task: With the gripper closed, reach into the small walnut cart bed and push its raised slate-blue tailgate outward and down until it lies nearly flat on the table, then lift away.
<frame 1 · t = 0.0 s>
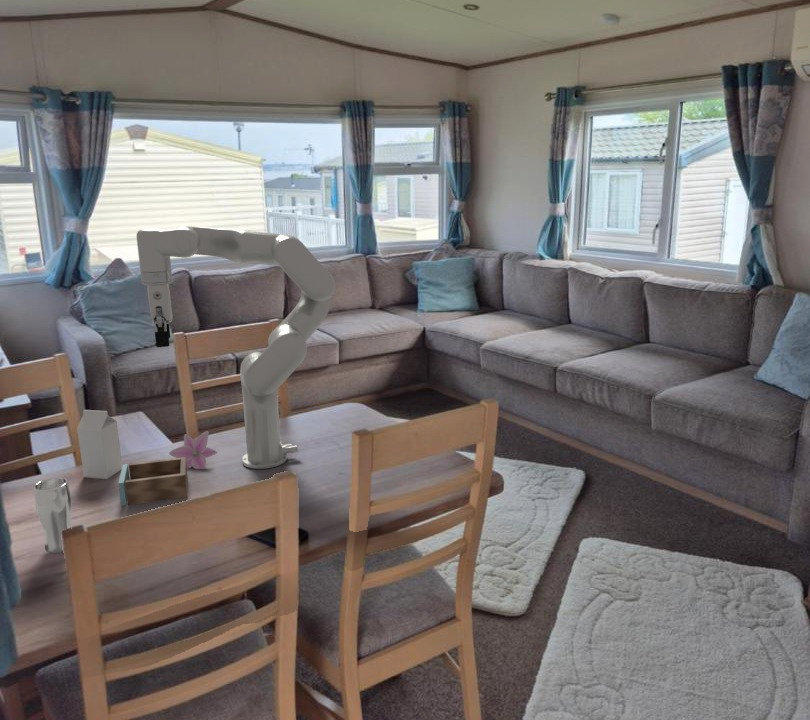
hand: (163, 342, 181), 37 cm above the table, tool pointing down, fingers open, 9 cm apart
cart bed: (159, 495, 177), on the table
milk carton: (104, 477, 188), on the table
lily: (195, 469, 193), on the table
tailgate: (124, 484, 173), point 4 cm above the table, hinge at 0.0°
beer glass: (60, 546, 153), on the table
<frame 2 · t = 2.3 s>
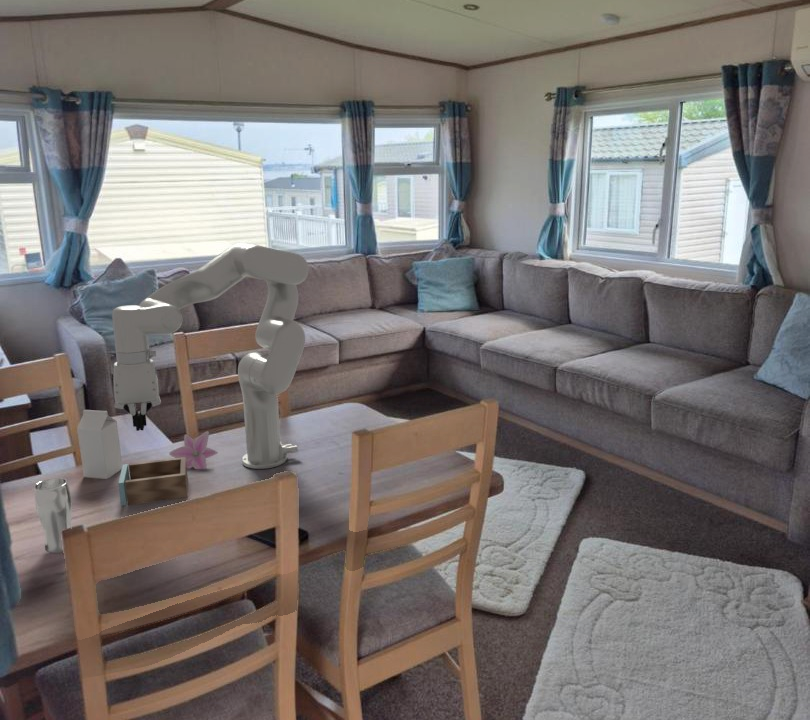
hand: (140, 428, 171), 18 cm above the table, tool pointing down, fingers closed
nothing on the table moved.
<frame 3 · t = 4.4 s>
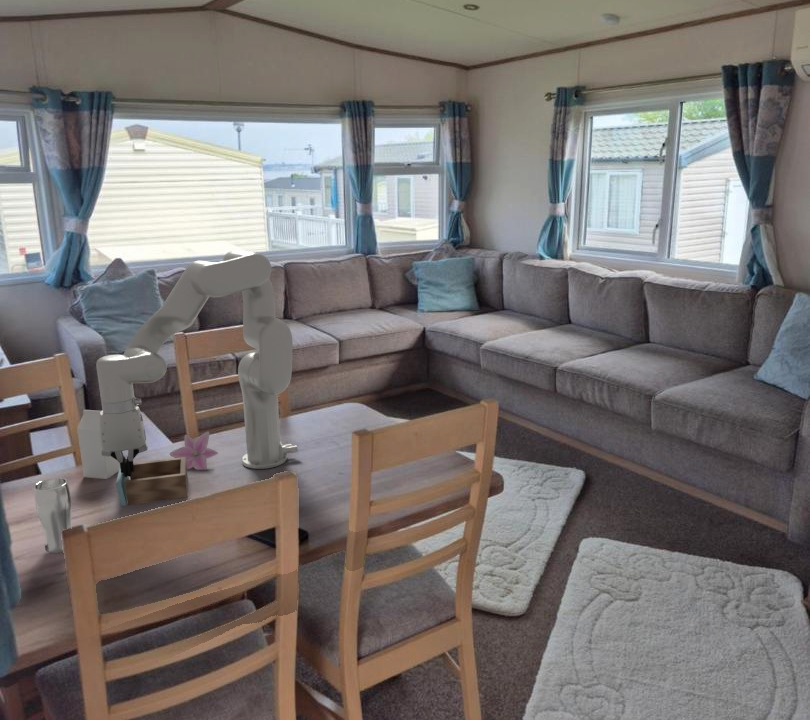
hand: (128, 474, 173), 7 cm above the table, tool pointing down, fingers closed
tailgate: (123, 484, 173), point 4 cm above the table, hinge at 6.2°, touching gripper
everything else where it was.
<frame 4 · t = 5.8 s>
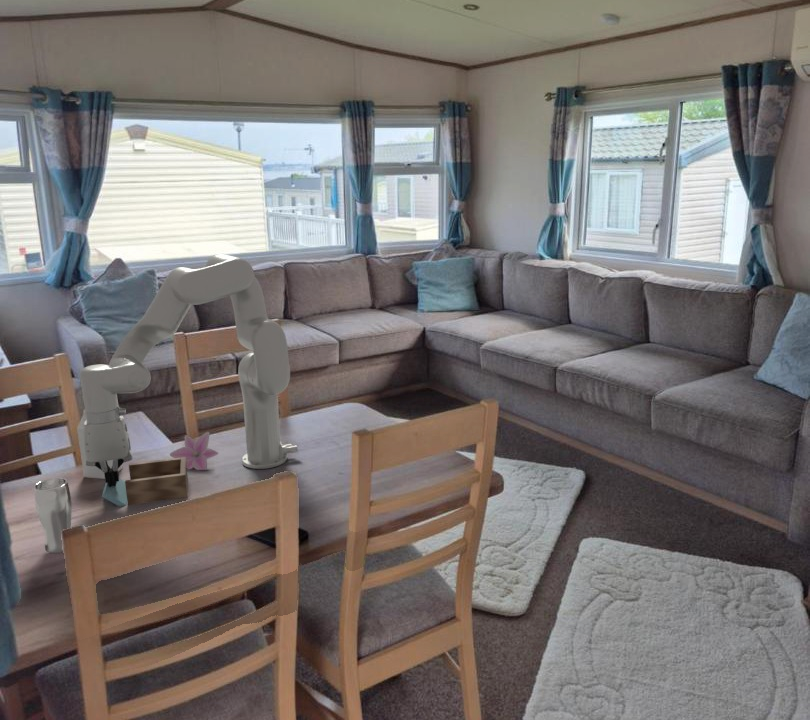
hand: (112, 484, 173), 5 cm above the table, tool pointing down, fingers closed
tailgate: (116, 490, 173), point 3 cm above the table, hinge at 48.3°, touching gripper
everything else where it was.
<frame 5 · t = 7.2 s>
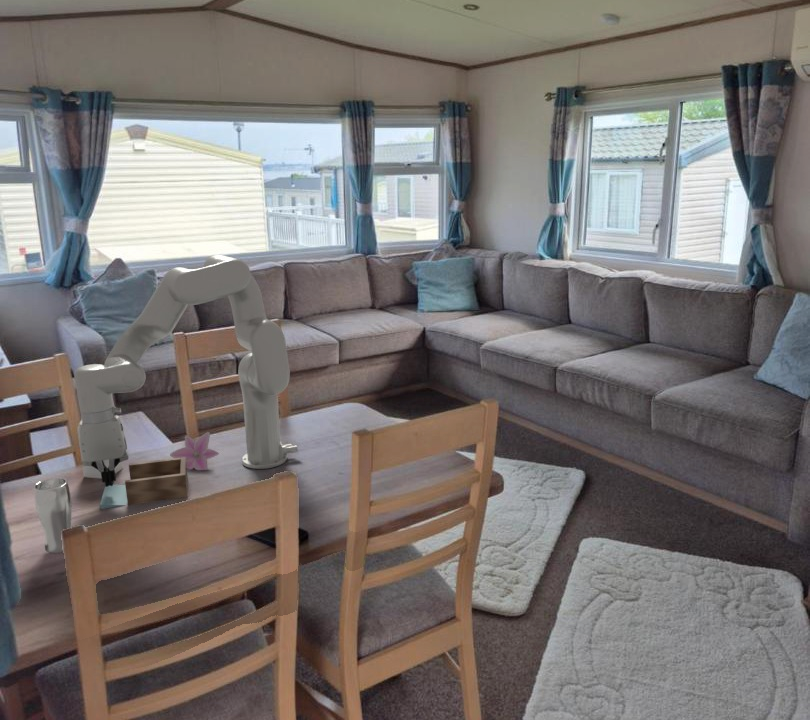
hand: (109, 483, 173), 5 cm above the table, tool pointing down, fingers closed
tailgate: (115, 496, 174), point 1 cm above the table, hinge at 79.3°
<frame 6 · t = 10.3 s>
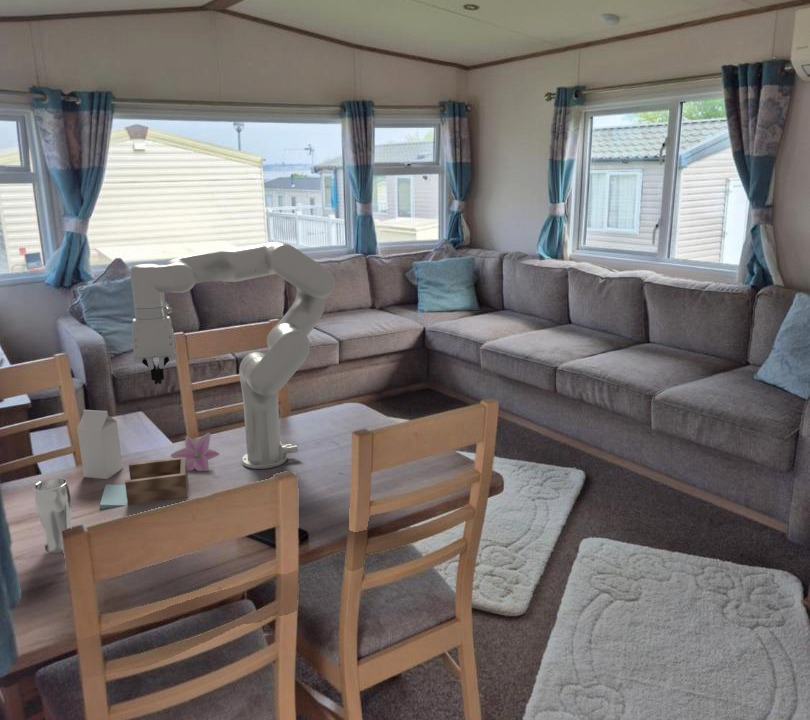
hand: (158, 382, 180), 27 cm above the table, tool pointing down, fingers closed
at the end: tailgate at +80° (first picture: +0°) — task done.
